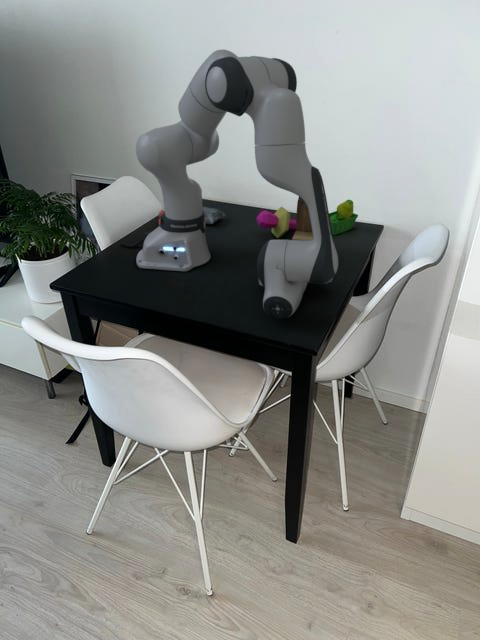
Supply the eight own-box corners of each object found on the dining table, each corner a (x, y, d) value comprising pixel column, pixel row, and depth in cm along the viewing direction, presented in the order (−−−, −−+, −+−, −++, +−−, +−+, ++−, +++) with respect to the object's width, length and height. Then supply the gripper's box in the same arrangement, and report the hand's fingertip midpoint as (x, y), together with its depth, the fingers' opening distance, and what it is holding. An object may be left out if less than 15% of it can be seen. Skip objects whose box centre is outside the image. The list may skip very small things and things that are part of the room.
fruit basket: (340, 222, 178) (343, 191, 172) (360, 230, 172) (364, 197, 166) (318, 230, 172) (320, 198, 166) (337, 238, 167) (340, 205, 160)
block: (323, 263, 151) (329, 198, 141) (298, 264, 151) (302, 199, 140) (316, 248, 160) (320, 185, 150) (292, 249, 160) (295, 186, 149)
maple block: (309, 276, 144) (311, 240, 138) (290, 274, 146) (292, 238, 140) (312, 268, 149) (315, 232, 143) (294, 265, 150) (295, 231, 144)
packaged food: (213, 229, 175) (212, 215, 172) (184, 223, 180) (183, 209, 177) (226, 221, 181) (225, 207, 179) (198, 215, 186) (197, 202, 184)
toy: (310, 241, 167) (314, 210, 166) (261, 233, 160) (265, 200, 159) (295, 242, 176) (299, 212, 175) (248, 234, 169) (252, 203, 168)
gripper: (332, 271, 127) (339, 249, 138) (253, 262, 132) (266, 241, 143) (330, 293, 130) (337, 270, 141) (253, 284, 135) (265, 261, 146)
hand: (300, 255), depth 142 cm, fingers open, 8 cm apart
